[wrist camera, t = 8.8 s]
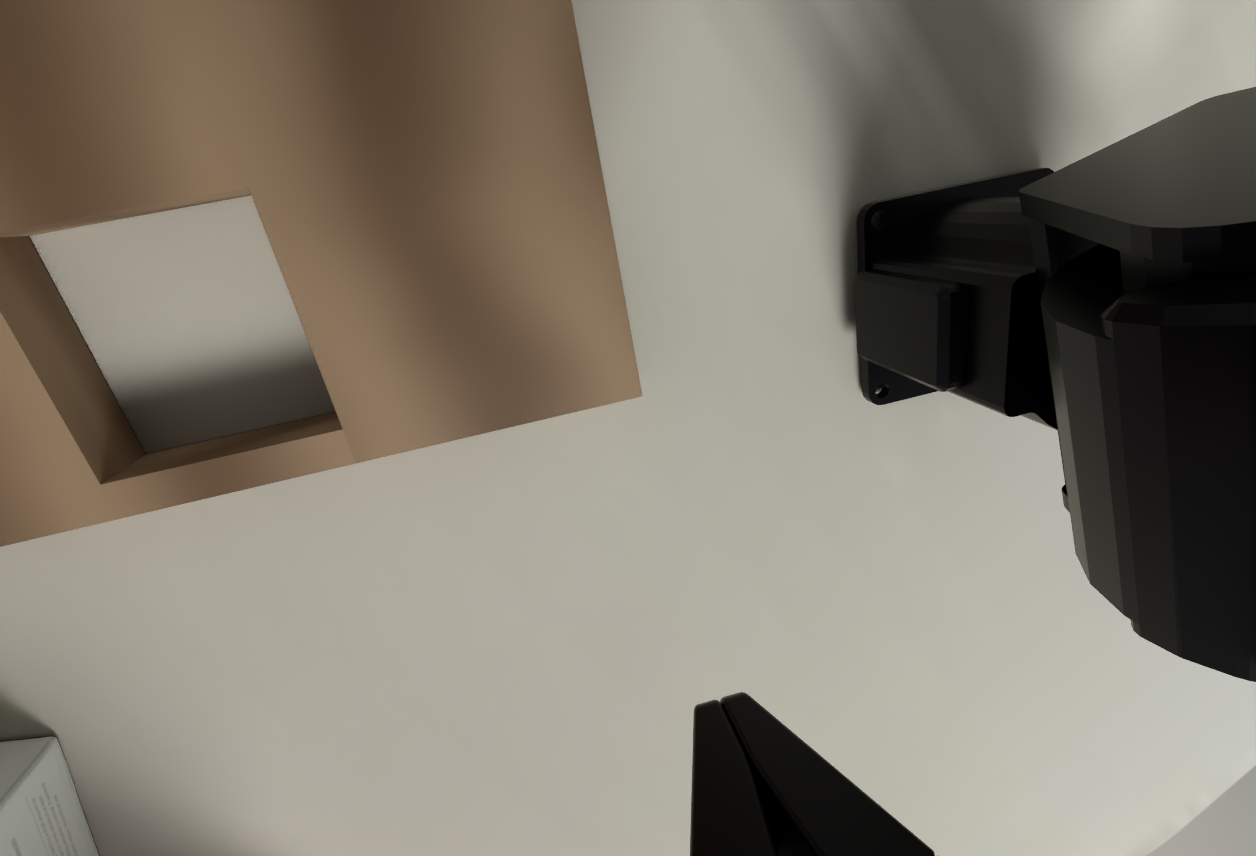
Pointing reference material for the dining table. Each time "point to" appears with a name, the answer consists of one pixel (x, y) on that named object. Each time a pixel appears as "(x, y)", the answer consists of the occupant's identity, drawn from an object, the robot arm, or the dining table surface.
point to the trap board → (309, 226)
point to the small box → (40, 802)
